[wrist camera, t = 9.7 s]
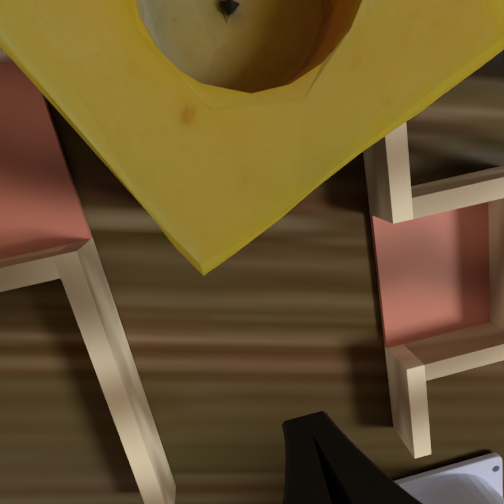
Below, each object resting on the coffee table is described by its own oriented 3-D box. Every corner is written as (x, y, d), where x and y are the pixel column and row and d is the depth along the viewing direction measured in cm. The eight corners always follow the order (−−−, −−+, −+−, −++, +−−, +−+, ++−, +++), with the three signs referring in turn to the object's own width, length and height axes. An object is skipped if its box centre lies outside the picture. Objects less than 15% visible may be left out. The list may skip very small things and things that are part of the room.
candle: (41, 32, 16) (-197, -141, 6) (230, -126, 15) (281, -578, 6) (195, 219, 19) (190, 293, 9) (358, 92, 18) (532, 33, 9)
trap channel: (502, 397, 24) (535, 424, 22) (51, 521, 22) (34, 565, 20) (498, -192, 16) (551, -252, 13) (-235, -80, 14) (-326, -128, 11)
